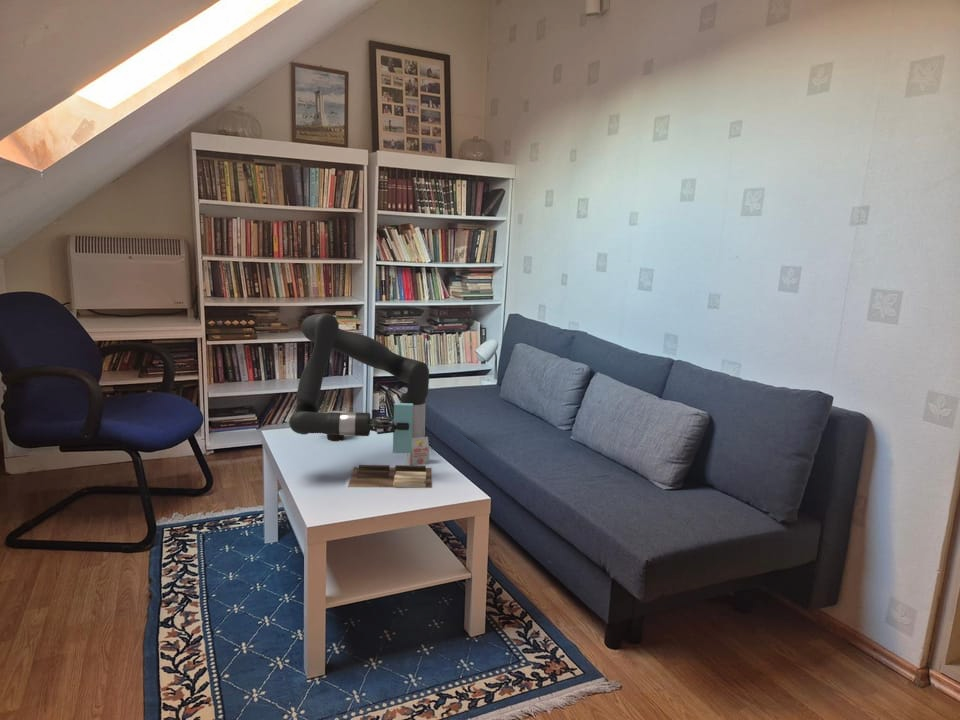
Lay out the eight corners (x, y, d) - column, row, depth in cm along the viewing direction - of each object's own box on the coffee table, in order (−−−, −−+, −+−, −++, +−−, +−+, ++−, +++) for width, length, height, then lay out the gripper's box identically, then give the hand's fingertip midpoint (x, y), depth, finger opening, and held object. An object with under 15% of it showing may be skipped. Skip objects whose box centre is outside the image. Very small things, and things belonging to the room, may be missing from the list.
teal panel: (393, 450, 206) (394, 403, 204) (411, 450, 207) (413, 403, 204) (392, 452, 204) (394, 404, 201) (411, 453, 205) (412, 405, 202)
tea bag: (406, 464, 220) (407, 437, 218) (425, 462, 223) (425, 435, 221) (410, 468, 216) (410, 440, 215) (428, 466, 219) (429, 438, 218)
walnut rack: (354, 469, 213) (354, 461, 212) (431, 470, 215) (431, 462, 214) (347, 490, 195) (347, 480, 194) (431, 490, 197) (432, 481, 197)
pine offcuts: (394, 480, 202) (394, 471, 202) (426, 480, 203) (426, 471, 202) (393, 487, 196) (393, 478, 195) (426, 487, 197) (426, 478, 196)
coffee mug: (351, 437, 247) (351, 412, 246) (338, 443, 240) (338, 417, 238) (327, 432, 252) (327, 408, 250) (313, 438, 244) (313, 413, 242)
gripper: (352, 418, 195) (409, 419, 197) (357, 407, 209) (409, 408, 210) (352, 441, 196) (408, 443, 198) (356, 429, 210) (409, 430, 212)
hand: (408, 425), depth 204 cm, fingers closed on teal panel, 2 cm apart
